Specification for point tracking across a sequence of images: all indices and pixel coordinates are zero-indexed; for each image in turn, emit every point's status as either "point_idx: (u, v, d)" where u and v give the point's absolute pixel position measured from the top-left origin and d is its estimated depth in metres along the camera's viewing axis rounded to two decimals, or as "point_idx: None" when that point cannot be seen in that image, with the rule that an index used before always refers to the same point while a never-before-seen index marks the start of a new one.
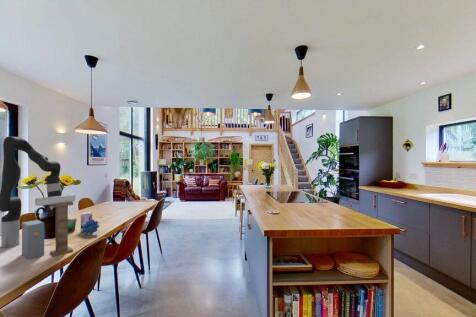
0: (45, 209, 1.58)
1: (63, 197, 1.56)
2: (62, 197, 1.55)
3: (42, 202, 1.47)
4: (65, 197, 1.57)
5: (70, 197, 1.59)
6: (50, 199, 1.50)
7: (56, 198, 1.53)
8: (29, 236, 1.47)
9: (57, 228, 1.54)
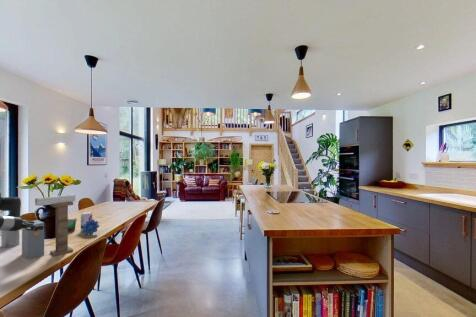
0: None
1: (63, 197, 1.56)
2: (62, 197, 1.55)
3: (42, 202, 1.47)
4: (65, 197, 1.57)
5: (70, 197, 1.59)
6: (50, 199, 1.50)
7: (56, 198, 1.53)
8: (29, 236, 1.47)
9: (57, 228, 1.54)
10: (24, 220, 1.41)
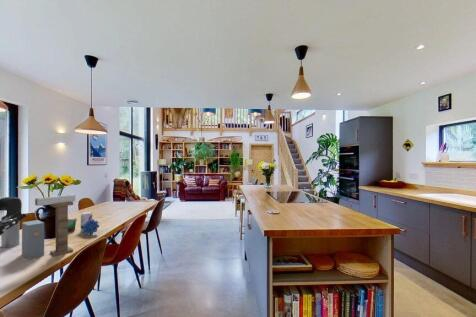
0: (18, 222, 1.34)
1: (63, 197, 1.56)
2: (62, 197, 1.55)
3: (42, 202, 1.47)
4: (65, 197, 1.57)
5: (70, 197, 1.59)
6: (50, 199, 1.50)
7: (56, 198, 1.53)
8: (29, 236, 1.47)
9: (57, 228, 1.54)
10: (5, 219, 1.37)
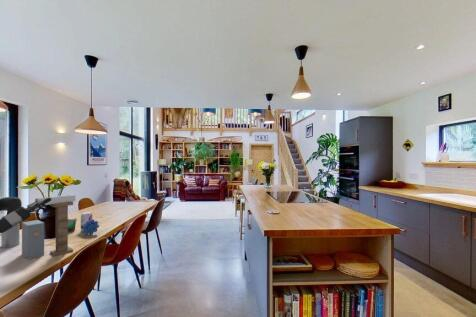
0: None
1: (63, 197, 1.56)
2: (62, 197, 1.55)
3: None
4: (65, 197, 1.57)
5: (70, 197, 1.59)
6: None
7: (56, 198, 1.53)
8: (29, 236, 1.47)
9: (57, 228, 1.54)
10: (33, 203, 1.46)
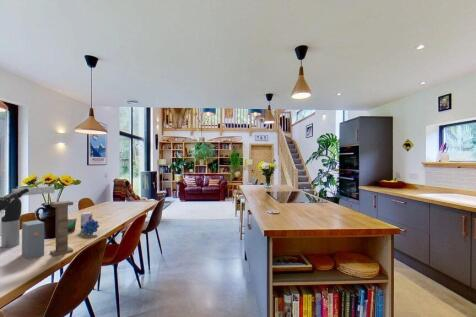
0: (21, 195, 1.44)
1: (41, 188, 1.54)
2: (40, 188, 1.54)
3: None
4: (43, 188, 1.55)
5: (49, 188, 1.57)
6: None
7: (34, 189, 1.51)
8: (29, 236, 1.47)
9: (57, 228, 1.54)
10: (9, 194, 1.44)
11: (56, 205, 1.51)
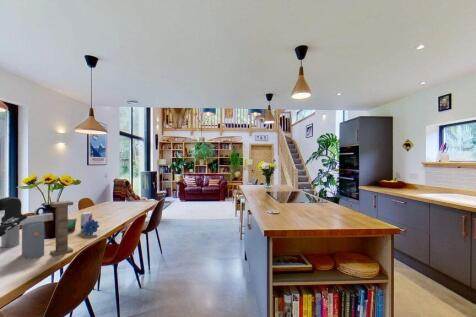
0: (19, 223, 1.42)
1: (40, 216, 1.54)
2: (39, 217, 1.54)
3: None
4: (42, 216, 1.55)
5: (47, 216, 1.57)
6: (26, 219, 1.49)
7: (32, 218, 1.51)
8: (29, 236, 1.47)
9: (57, 228, 1.54)
10: (7, 220, 1.45)
11: (56, 205, 1.51)
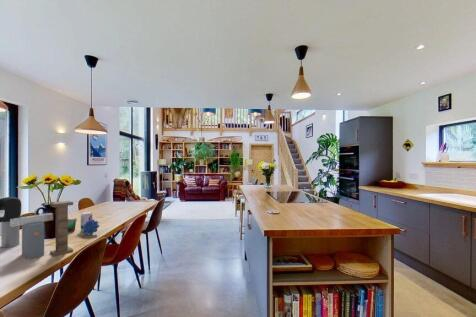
0: None
1: (40, 216, 1.54)
2: (39, 217, 1.54)
3: (17, 222, 1.45)
4: (42, 216, 1.55)
5: (47, 216, 1.57)
6: (26, 219, 1.49)
7: (32, 218, 1.51)
8: (29, 236, 1.47)
9: (57, 228, 1.54)
10: None
11: (56, 205, 1.51)
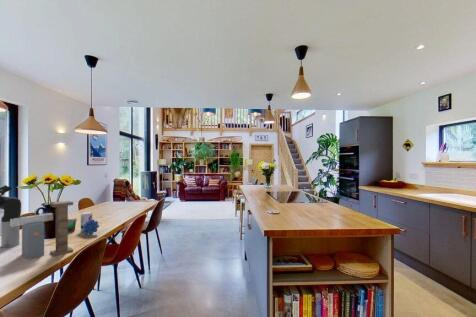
0: (3, 194, 1.40)
1: (40, 216, 1.54)
2: (39, 217, 1.54)
3: (17, 222, 1.45)
4: (42, 216, 1.55)
5: (47, 216, 1.57)
6: (26, 219, 1.49)
7: (32, 218, 1.51)
8: (29, 236, 1.47)
9: (57, 228, 1.54)
10: None
11: (56, 205, 1.51)
